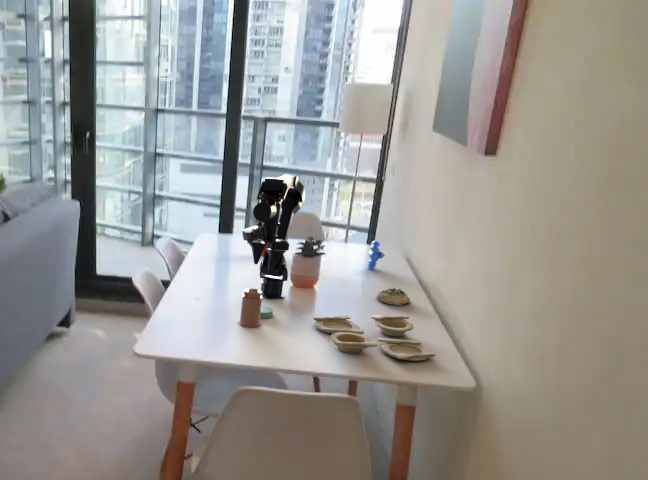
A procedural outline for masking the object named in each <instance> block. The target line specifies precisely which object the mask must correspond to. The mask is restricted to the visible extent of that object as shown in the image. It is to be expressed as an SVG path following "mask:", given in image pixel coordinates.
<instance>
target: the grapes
mask: <svg viewBox="0 0 648 480" xmlns="http://www.w3.org/2000/svg"><path fill="white" fill-rule="evenodd" d="M370 245H371V246H370V248H369V249H370V251H369V252H367V256H368V257H369V260H368V261H367V263H368V264H367V266H368V268H369V269H370V270H373V269H374V268H376V267H377V264H378V263H377V262H378V261H379V260H381V259H383V258H384V257H385V256H386V255H385V254H384V252H383V251H381V249H380V248H379V247H380V245H381V244H380V242H379V240H377V239H374V240H373V241H372V242H371V243H370Z"/></svg>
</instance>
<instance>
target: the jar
mask: <svg viewBox="0 0 648 480" xmlns="http://www.w3.org/2000/svg"><path fill="white" fill-rule="evenodd" d="M261 294H262V293H261V289H258V288H245V289H243V294H242V296H241V307H240V317H239V325H241V326H243V327H246V328H257V327H259V326H260V321H261V318H260V313H261V306H262V304H263V295H261Z"/></svg>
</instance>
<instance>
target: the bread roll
mask: <svg viewBox="0 0 648 480" xmlns="http://www.w3.org/2000/svg"><path fill="white" fill-rule="evenodd" d="M377 299H378V300H379V301H380V302H382V303H384V304H389V305H397V306H401V305H405V304H408V303H410V302H411V299H410V297H409V296H408V294H406V292H405V291H404V290H402V289H401V288H398V289H397V288H396V287H393V288H391V287H388V289H384V290H381V291H380V292H379V293H377Z"/></svg>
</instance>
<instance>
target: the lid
mask: <svg viewBox="0 0 648 480" xmlns="http://www.w3.org/2000/svg"><path fill="white" fill-rule="evenodd" d="M273 312H274V310H273V308H271V307H269V306H262V305H261V313H260V319H270V318H272V317H273V315H274V314H273Z"/></svg>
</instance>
